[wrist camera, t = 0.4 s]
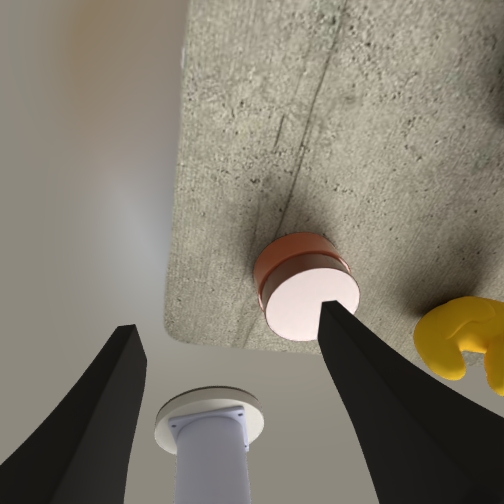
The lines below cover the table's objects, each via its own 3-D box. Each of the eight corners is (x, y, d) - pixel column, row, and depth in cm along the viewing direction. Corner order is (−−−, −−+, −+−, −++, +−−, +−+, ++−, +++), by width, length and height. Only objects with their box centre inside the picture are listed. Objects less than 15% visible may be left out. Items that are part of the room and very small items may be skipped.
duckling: (513, 268, 28) (648, 355, 19) (502, 307, 31) (615, 398, 22) (397, 304, 28) (480, 405, 20) (397, 340, 31) (469, 441, 23)
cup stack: (334, 298, 26) (355, 335, 23) (254, 309, 26) (263, 349, 22) (343, 226, 23) (371, 258, 19) (250, 237, 22) (260, 272, 18)
